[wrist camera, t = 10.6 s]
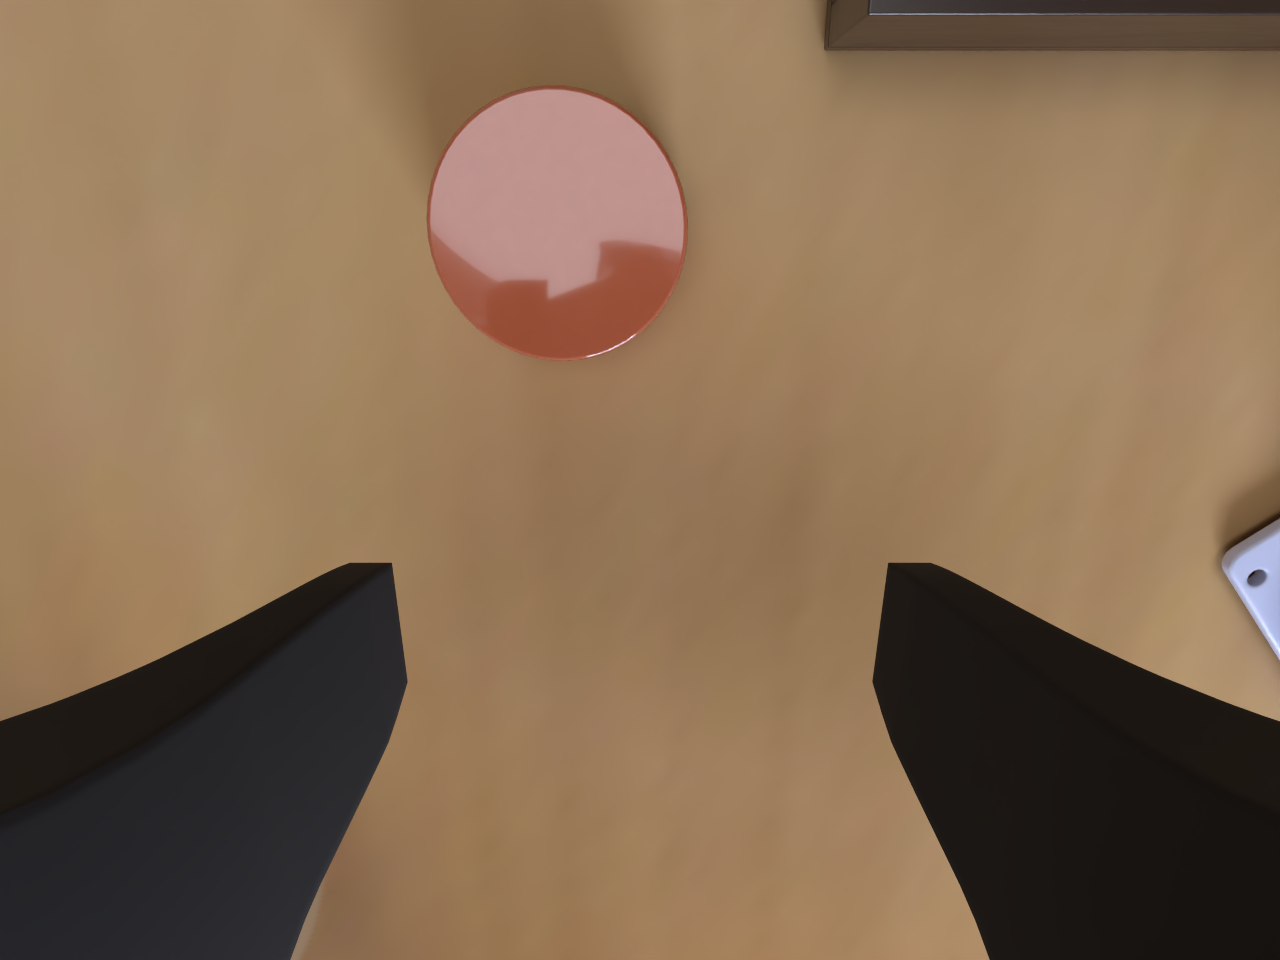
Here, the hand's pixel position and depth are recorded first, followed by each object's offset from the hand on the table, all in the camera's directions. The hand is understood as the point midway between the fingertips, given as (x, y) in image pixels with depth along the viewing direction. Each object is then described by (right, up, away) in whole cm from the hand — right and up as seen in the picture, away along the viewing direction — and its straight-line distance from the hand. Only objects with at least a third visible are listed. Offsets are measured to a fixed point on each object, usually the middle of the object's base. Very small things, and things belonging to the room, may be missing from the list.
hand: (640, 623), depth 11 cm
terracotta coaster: (-2, +8, +7) cm, 11 cm away
